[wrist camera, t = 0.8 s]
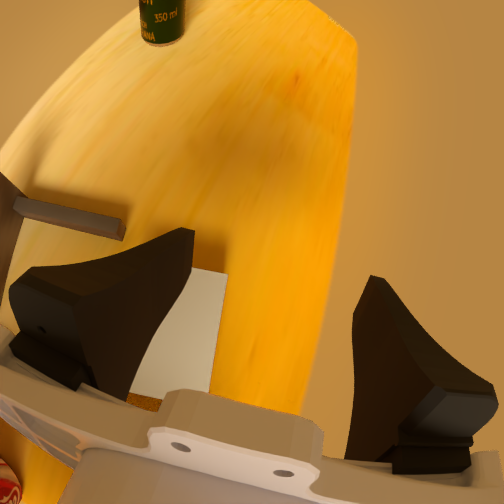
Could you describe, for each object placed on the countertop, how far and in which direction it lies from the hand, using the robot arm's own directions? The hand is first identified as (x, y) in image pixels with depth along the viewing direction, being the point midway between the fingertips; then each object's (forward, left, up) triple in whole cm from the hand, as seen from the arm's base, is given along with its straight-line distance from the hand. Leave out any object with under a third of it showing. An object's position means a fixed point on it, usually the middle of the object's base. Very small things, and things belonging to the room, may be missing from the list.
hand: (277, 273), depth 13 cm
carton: (-3, +5, -15) cm, 16 cm away
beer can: (+30, +16, -15) cm, 37 cm away
